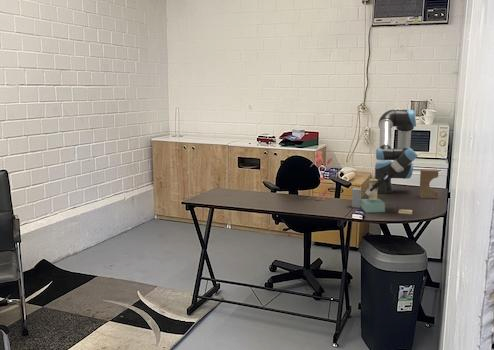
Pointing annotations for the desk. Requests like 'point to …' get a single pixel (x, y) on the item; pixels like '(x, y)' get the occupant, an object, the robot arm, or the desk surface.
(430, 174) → the decorative block
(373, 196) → the maple pillar
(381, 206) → the teal base block
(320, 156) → the figurine
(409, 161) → the robot arm
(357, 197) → the slate-grey pillar
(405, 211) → the maple swatch tile
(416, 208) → the desk surface
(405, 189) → the desk surface
